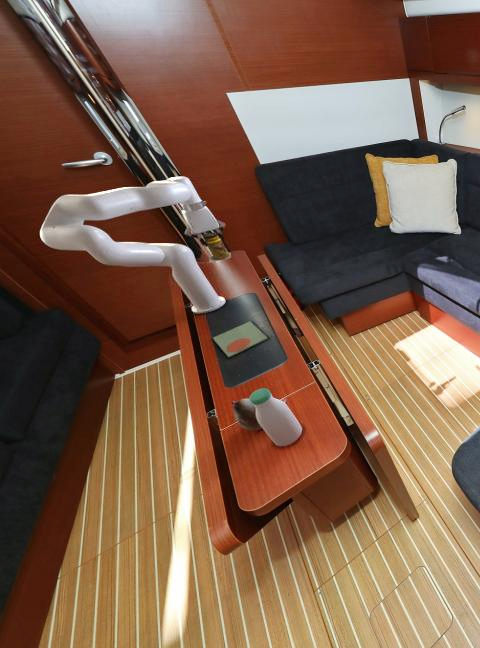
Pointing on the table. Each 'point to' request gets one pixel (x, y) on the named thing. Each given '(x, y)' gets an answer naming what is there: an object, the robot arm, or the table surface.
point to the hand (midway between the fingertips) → (214, 243)
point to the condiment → (216, 247)
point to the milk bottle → (275, 418)
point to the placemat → (240, 339)
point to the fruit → (246, 414)
